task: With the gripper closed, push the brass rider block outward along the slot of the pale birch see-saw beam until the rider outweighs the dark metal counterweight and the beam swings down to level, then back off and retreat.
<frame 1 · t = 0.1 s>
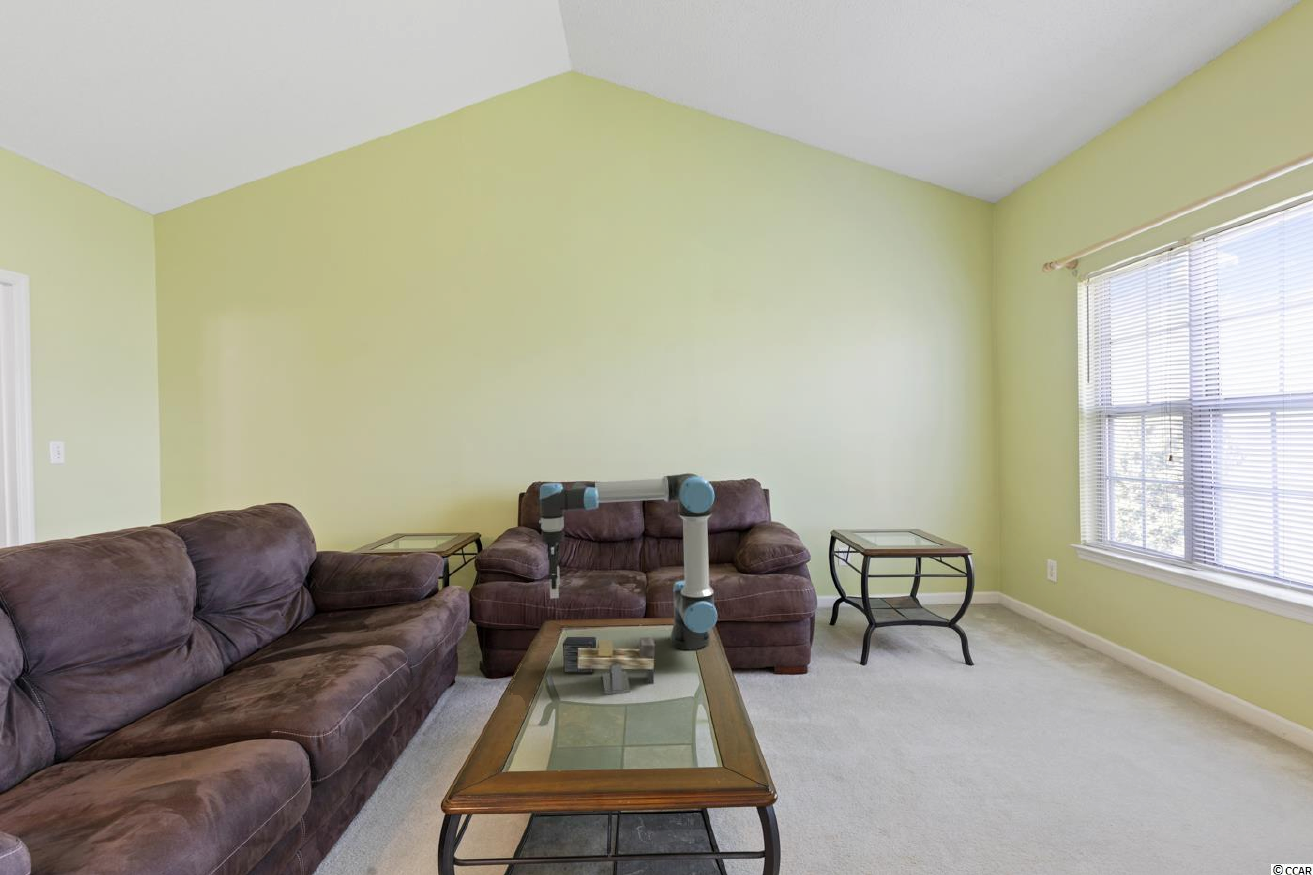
hand: (555, 591, 186), 28 cm above the table, fingers open, 13 cm apart
fulcrum: (616, 683, 178), on the table
rider: (604, 659, 177), point 9 cm above the table, tilted 7°, touching beam
small box: (580, 670, 189), on the table
beam: (615, 652, 178), point 10 cm above the table, hinge at -6.8°, touching rider
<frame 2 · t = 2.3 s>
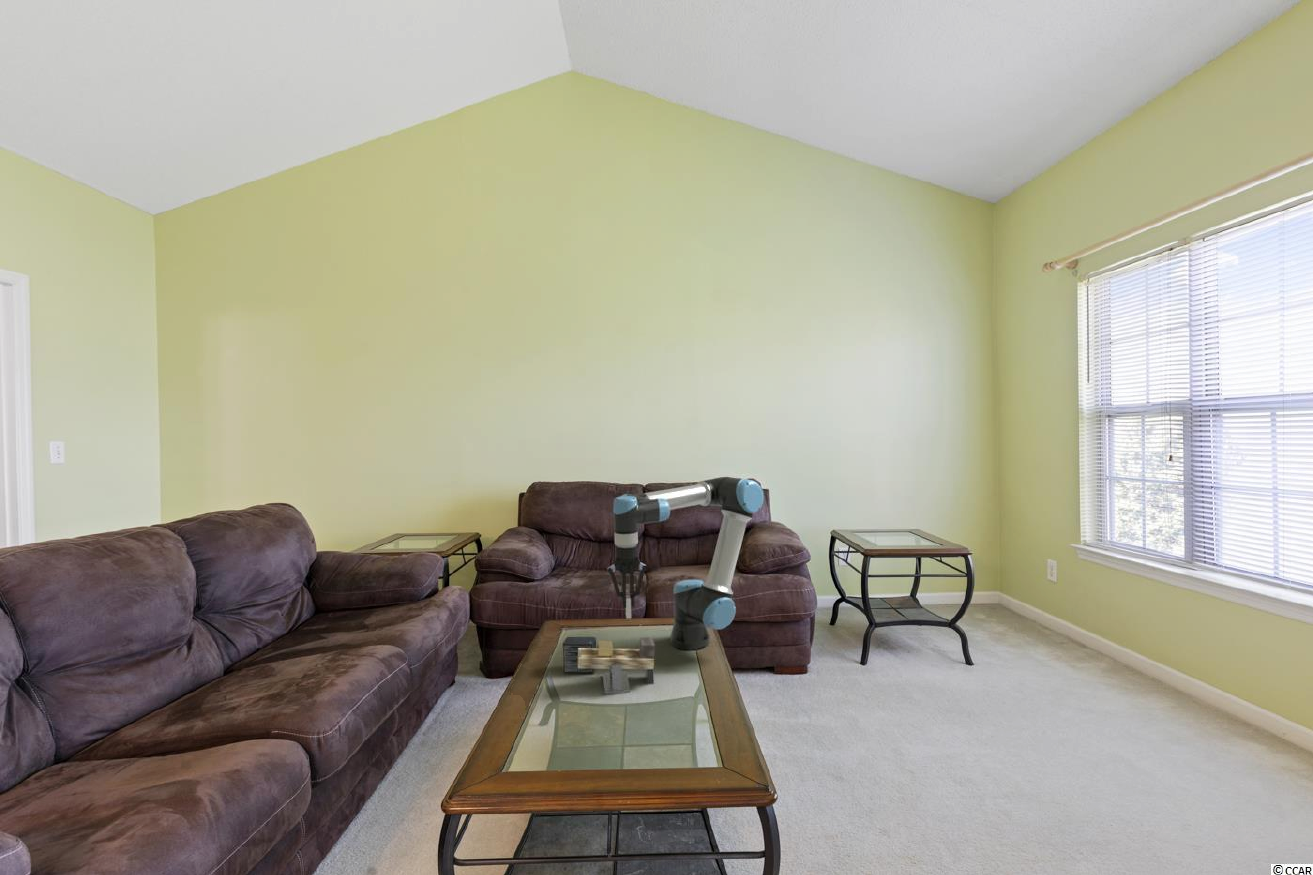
hand: (628, 616, 178), 22 cm above the table, fingers closed
nothing on the table moved.
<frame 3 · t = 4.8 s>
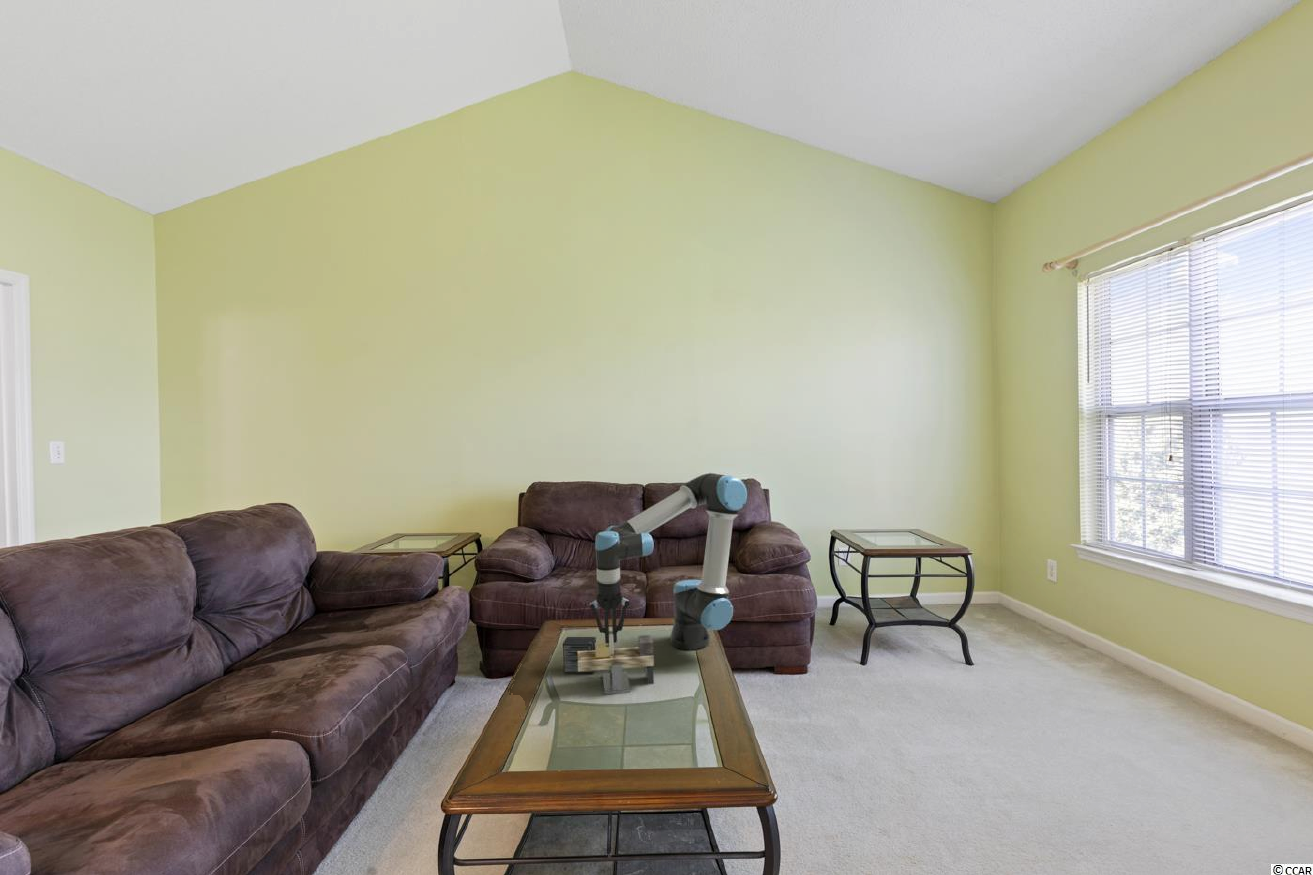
hand: (611, 652, 177), 11 cm above the table, fingers closed
rider: (602, 659, 177), point 8 cm above the table, touching gripper
beam: (615, 652, 178), point 10 cm above the table, hinge at -1.6°
everything else where it was.
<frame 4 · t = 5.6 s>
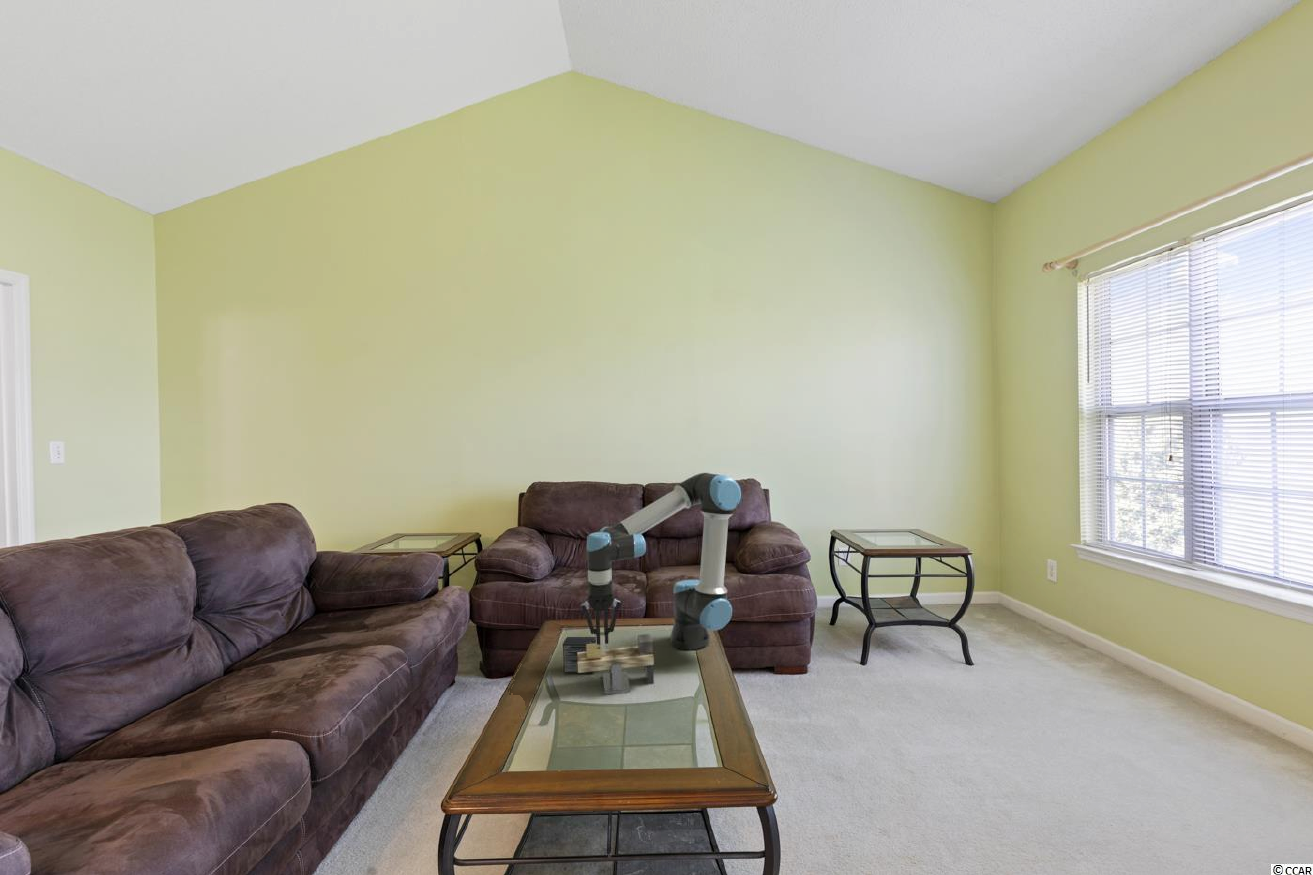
hand: (602, 653, 177), 10 cm above the table, fingers closed
rider: (594, 661, 177), point 8 cm above the table, touching beam, gripper
beam: (614, 652, 178), point 10 cm above the table, hinge at 0.2°, touching rider
everything else where it was.
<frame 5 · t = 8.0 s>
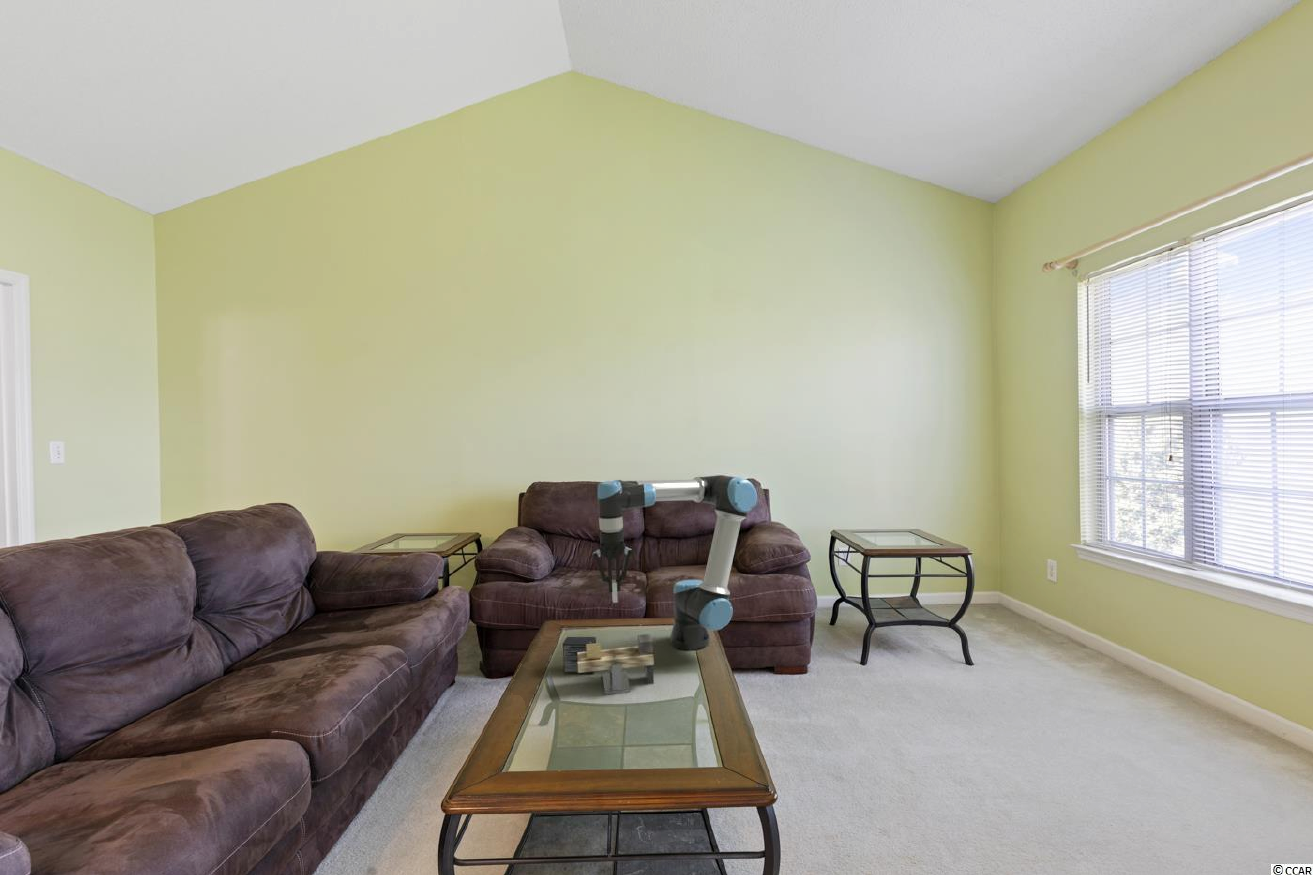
hand: (615, 601, 178), 27 cm above the table, fingers closed
rider: (594, 661, 177), point 8 cm above the table, touching beam
everything else where it was.
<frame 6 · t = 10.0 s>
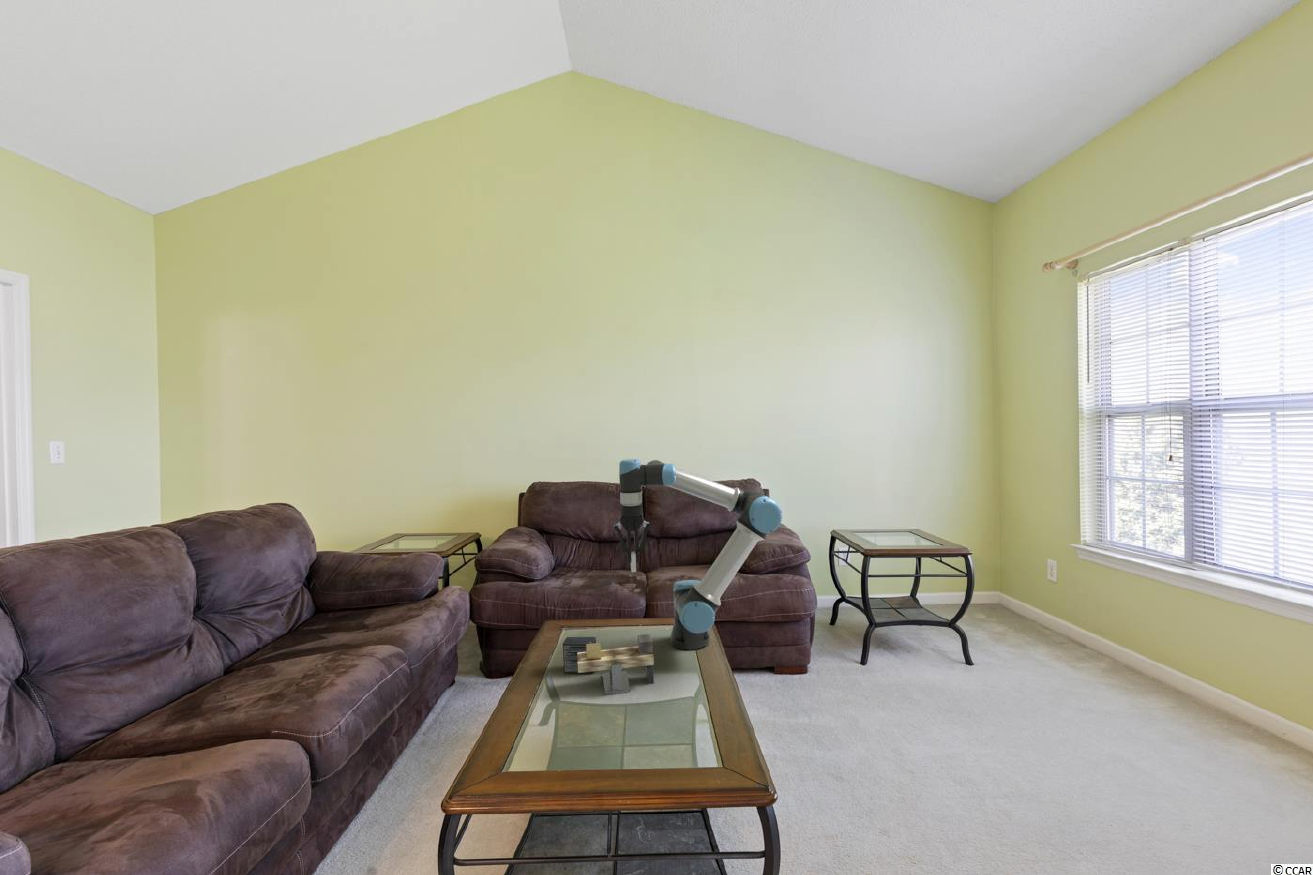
hand: (633, 571, 192), 32 cm above the table, fingers closed
nothing on the table moved.
at the end: beam at +0° (first picture: -7°); rider 1.5 cm from the target spot on the beam, point 0.6 cm above the beam's base; rider tilted 0° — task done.
